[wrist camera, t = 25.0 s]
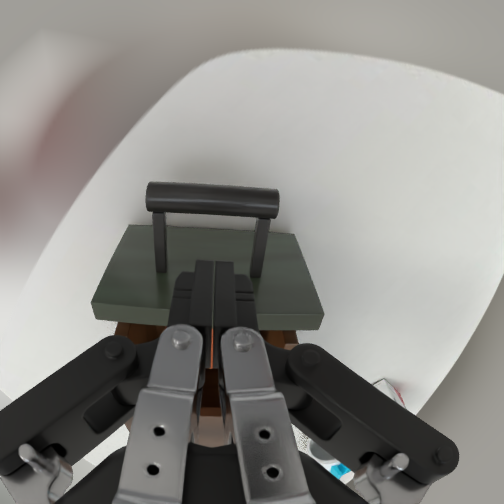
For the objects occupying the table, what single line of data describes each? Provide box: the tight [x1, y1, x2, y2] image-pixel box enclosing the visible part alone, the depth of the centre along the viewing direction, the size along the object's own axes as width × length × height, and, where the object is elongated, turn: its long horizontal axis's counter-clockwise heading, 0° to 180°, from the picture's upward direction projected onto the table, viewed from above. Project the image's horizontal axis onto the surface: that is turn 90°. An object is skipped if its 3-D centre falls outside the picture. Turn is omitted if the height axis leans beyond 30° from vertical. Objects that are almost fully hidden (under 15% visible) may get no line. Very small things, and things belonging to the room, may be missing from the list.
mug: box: [307, 438, 351, 479], centre depth 43 cm, size 12×9×12 cm
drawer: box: [91, 182, 324, 408], centre depth 19 cm, size 18×11×8 cm, turn 173°
